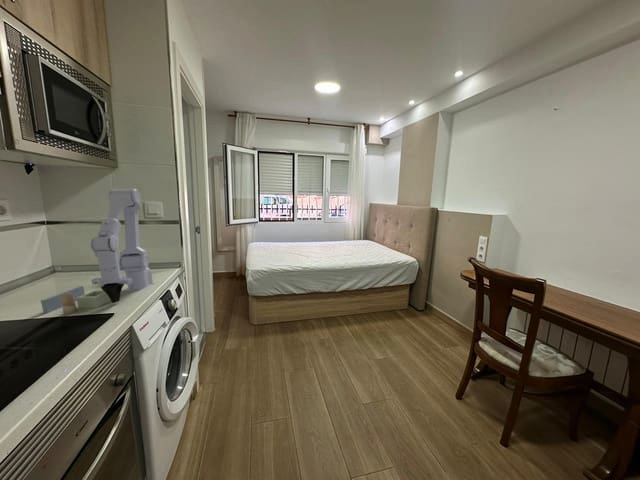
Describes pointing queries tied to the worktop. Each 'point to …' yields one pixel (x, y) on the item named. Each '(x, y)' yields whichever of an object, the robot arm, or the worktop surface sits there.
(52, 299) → the backstop wall
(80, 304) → the socket block
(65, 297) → the dowel
